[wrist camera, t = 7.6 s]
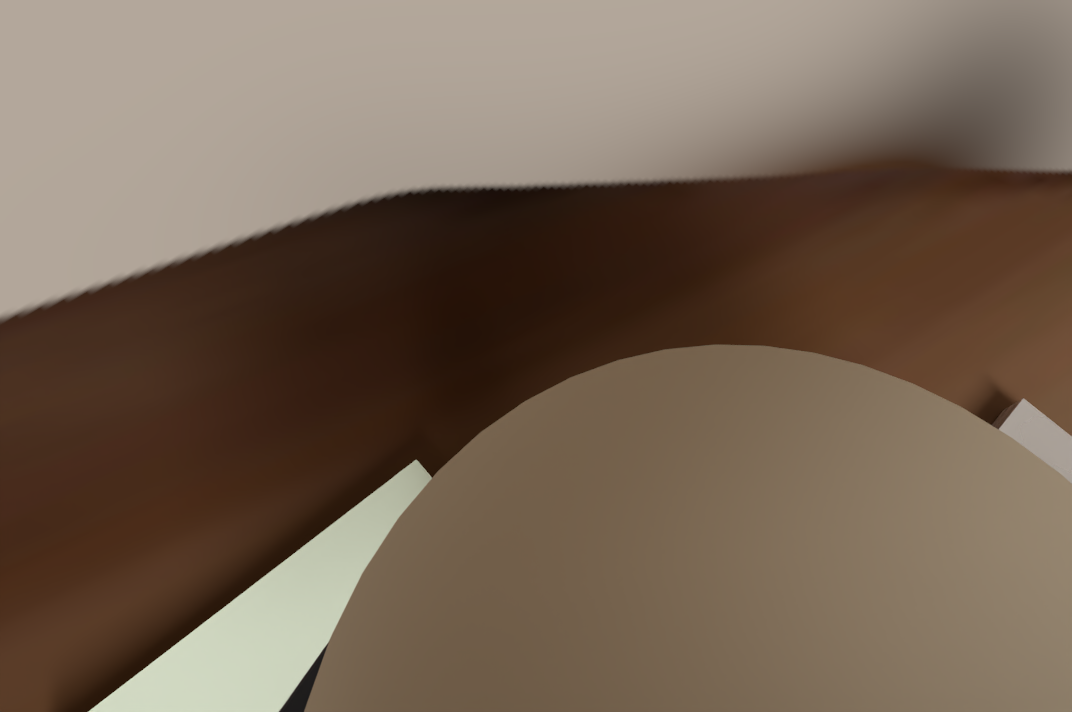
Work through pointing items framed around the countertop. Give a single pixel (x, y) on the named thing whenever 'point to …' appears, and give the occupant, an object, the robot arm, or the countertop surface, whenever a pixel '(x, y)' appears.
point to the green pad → (271, 620)
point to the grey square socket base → (1037, 435)
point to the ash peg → (720, 554)
